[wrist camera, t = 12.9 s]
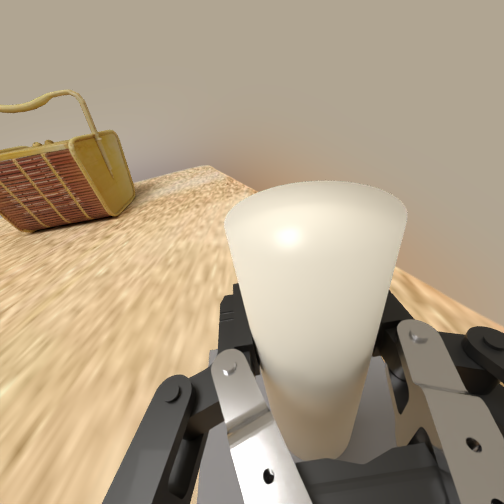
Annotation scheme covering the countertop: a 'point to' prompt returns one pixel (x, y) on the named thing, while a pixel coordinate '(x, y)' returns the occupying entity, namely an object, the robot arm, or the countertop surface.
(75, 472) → the countertop surface
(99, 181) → the picnic basket
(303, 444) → the cream cylinder
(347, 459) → the grey mat
